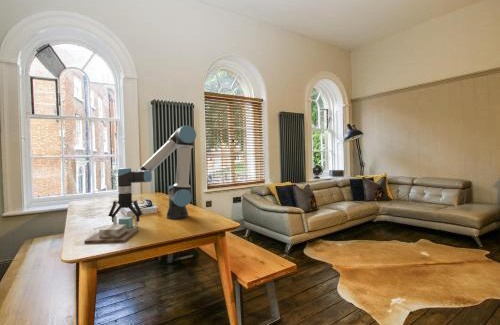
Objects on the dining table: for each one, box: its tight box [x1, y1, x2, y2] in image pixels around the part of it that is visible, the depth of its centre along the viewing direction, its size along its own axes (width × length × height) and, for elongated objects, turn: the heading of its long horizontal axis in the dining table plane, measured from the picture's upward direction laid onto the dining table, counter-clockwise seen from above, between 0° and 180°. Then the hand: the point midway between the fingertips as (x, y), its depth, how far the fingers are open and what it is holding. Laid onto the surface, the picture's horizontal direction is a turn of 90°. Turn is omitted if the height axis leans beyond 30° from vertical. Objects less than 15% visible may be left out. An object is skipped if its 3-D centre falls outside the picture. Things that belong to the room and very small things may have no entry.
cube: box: [118, 216, 134, 229], centre depth 165 cm, size 6×6×6 cm
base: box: [83, 224, 140, 245], centre depth 146 cm, size 20×20×6 cm
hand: (125, 227), depth 165 cm, fingers open, 12 cm apart
